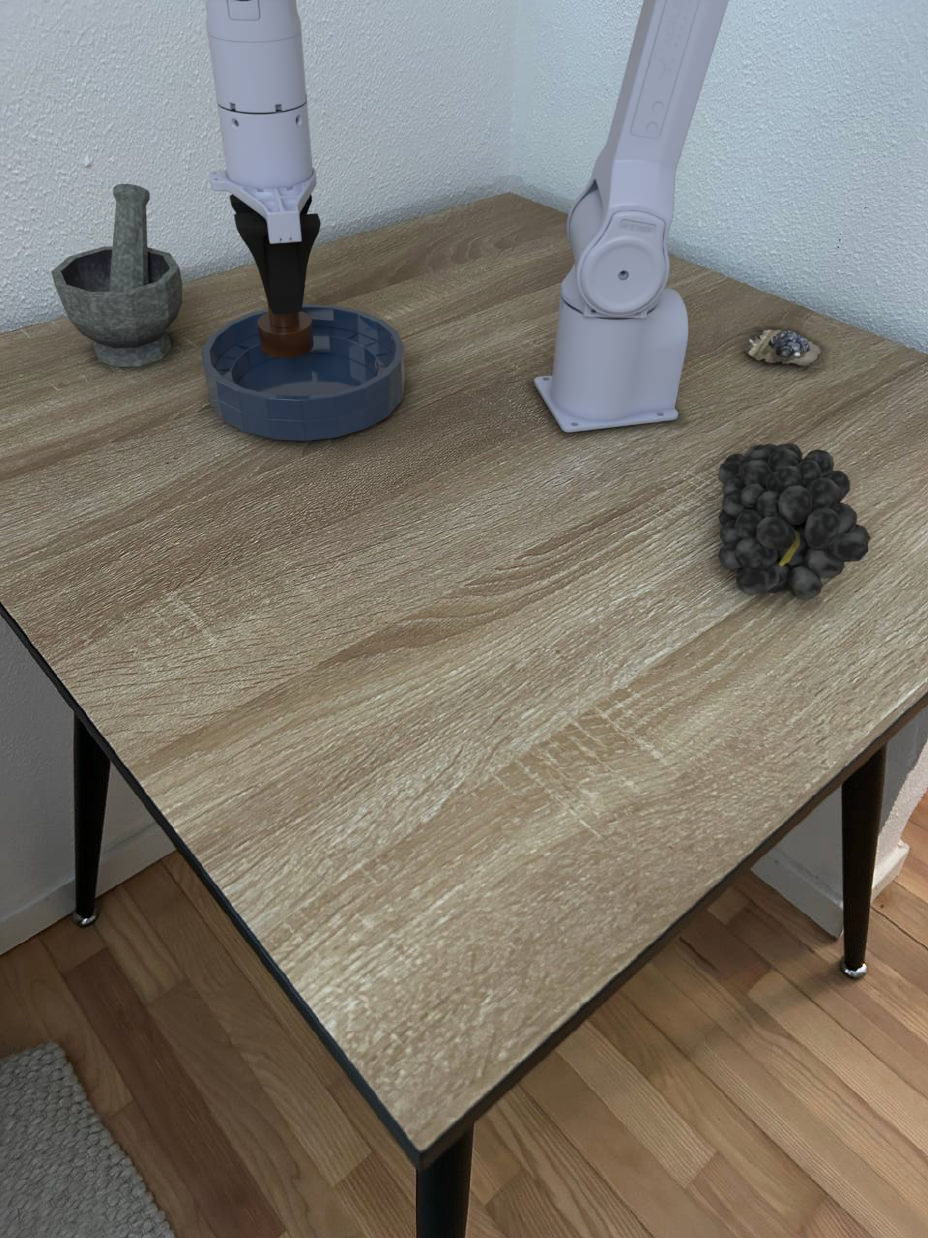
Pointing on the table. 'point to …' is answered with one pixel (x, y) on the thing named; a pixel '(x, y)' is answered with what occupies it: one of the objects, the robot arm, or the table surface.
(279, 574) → the table surface
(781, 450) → the fruit
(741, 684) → the table surface
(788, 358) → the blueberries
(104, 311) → the mortar and pestle
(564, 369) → the robot arm
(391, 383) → the bowl
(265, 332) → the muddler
